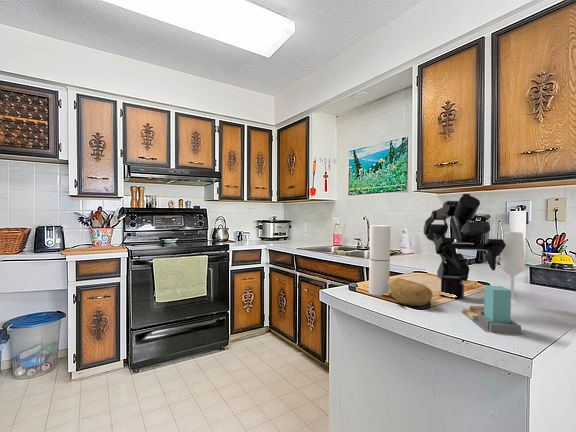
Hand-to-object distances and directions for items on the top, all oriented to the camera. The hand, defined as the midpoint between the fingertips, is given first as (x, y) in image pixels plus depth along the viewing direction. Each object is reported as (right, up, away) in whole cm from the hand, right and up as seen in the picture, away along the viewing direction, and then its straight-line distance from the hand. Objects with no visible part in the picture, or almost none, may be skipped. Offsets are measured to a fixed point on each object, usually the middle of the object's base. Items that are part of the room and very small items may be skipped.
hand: (477, 269), depth 90 cm
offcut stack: (-1, -13, -4) cm, 13 cm away
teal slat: (-2, -13, -12) cm, 17 cm away
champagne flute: (+18, -14, +11) cm, 25 cm away
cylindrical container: (-23, -13, +22) cm, 34 cm away
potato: (-17, -13, +8) cm, 23 cm away
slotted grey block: (-2, -14, -8) cm, 16 cm away
